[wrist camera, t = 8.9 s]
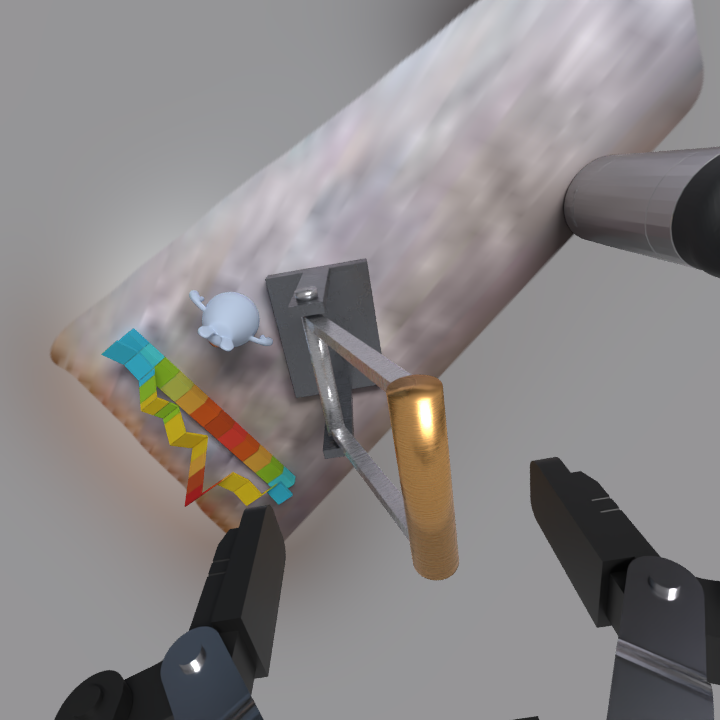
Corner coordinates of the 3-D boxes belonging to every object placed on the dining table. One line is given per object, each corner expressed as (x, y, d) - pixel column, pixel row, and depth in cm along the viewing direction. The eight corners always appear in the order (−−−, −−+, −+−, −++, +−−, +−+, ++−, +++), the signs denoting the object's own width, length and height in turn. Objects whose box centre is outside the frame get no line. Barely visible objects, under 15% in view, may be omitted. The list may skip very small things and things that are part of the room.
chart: (118, 342, 53) (38, 400, 39) (134, 327, 52) (60, 381, 38) (280, 486, 63) (261, 571, 49) (295, 475, 62) (281, 559, 49)
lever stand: (365, 251, 49) (373, 283, 34) (385, 381, 56) (399, 453, 42) (266, 268, 49) (233, 307, 35) (299, 395, 57) (283, 472, 42)
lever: (322, 307, 39) (454, 389, 21) (347, 423, 44) (468, 566, 26) (292, 316, 38) (403, 409, 20) (321, 434, 43) (428, 588, 25)
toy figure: (190, 303, 51) (148, 337, 40) (215, 261, 49) (177, 286, 38) (265, 349, 54) (244, 393, 43) (290, 312, 52) (276, 348, 41)
